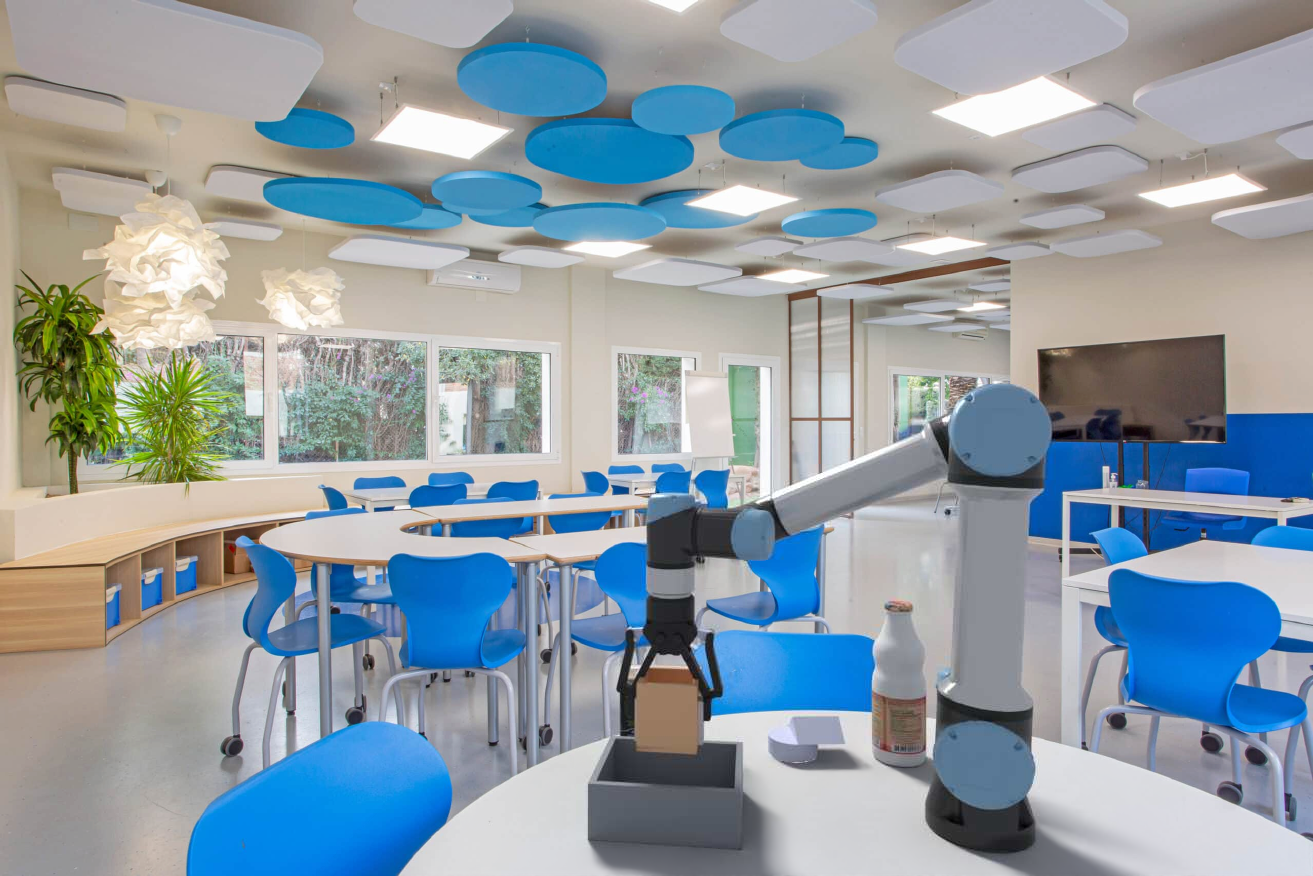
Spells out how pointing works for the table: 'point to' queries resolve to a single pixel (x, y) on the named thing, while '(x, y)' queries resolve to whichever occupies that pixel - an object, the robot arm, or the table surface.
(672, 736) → the small crate
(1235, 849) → the table surface
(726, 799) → the large crate
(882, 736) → the fruit juice
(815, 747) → the wedge on round base
